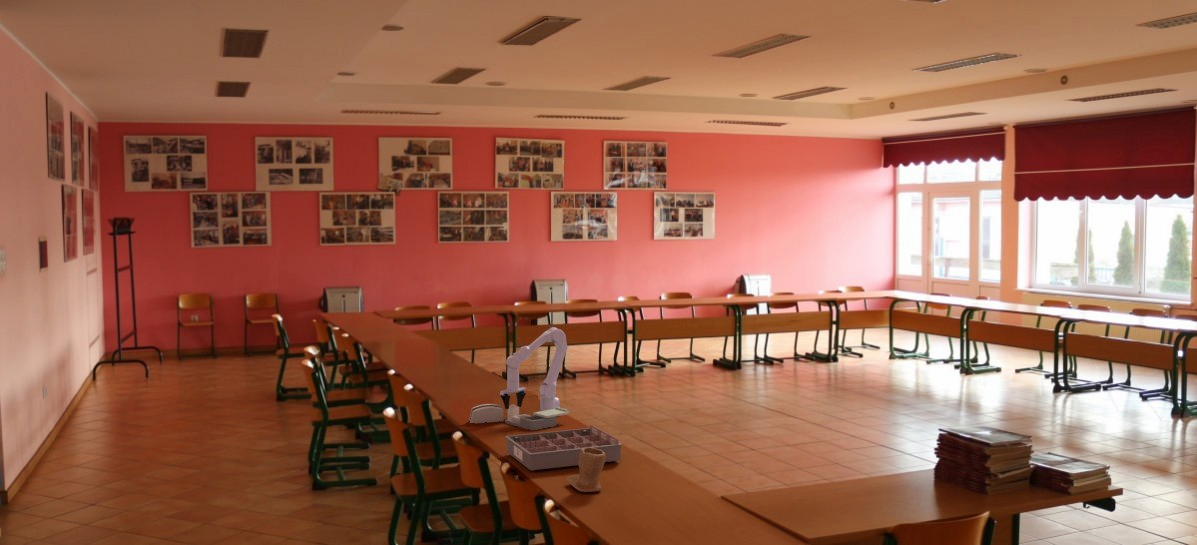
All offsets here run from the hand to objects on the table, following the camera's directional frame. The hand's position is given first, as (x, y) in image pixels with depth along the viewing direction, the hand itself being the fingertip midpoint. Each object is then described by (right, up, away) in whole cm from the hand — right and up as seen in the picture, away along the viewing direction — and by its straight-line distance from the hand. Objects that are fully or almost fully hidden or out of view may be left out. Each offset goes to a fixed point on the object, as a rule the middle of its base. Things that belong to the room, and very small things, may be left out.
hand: (513, 407), depth 462 cm
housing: (+9, -6, -13) cm, 17 cm away
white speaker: (-12, -6, -7) cm, 15 cm away
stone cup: (+38, -13, -116) cm, 123 cm away
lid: (+19, -1, -12) cm, 23 cm away
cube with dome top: (0, -5, 0) cm, 5 cm away
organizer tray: (+27, -11, -75) cm, 81 cm away
